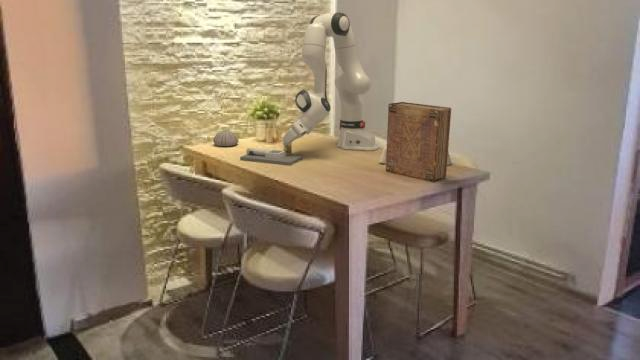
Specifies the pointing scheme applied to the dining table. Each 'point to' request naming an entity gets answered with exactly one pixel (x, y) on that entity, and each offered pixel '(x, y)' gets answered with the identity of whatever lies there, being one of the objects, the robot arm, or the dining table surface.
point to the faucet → (383, 155)
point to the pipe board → (270, 156)
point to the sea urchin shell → (225, 138)
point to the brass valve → (288, 148)
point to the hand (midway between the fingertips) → (286, 143)
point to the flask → (449, 160)
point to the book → (418, 140)
